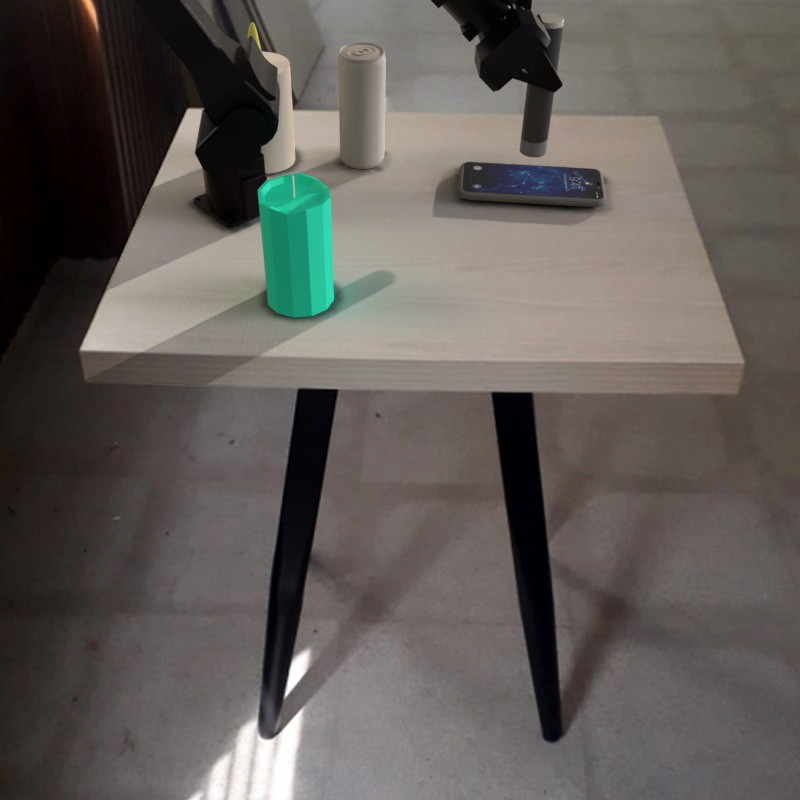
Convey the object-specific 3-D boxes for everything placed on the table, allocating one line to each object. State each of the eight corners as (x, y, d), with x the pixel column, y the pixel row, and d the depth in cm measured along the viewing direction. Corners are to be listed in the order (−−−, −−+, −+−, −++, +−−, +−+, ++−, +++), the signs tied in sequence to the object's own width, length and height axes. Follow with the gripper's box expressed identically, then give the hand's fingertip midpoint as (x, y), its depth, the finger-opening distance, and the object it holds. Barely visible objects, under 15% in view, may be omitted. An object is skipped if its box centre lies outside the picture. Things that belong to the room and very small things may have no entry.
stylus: (518, 155, 93) (533, 21, 84) (521, 143, 95) (536, 11, 86) (544, 159, 93) (562, 24, 84) (547, 146, 95) (565, 14, 86)
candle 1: (300, 146, 105) (293, 8, 95) (289, 175, 100) (280, 33, 90) (244, 142, 106) (231, 4, 96) (230, 171, 101) (214, 29, 91)
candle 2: (274, 275, 87) (264, 154, 79) (339, 280, 87) (335, 160, 78) (259, 314, 82) (247, 191, 74) (328, 320, 82) (323, 197, 74)
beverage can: (331, 159, 103) (327, 49, 95) (364, 145, 106) (364, 37, 98) (359, 176, 101) (359, 64, 93) (393, 161, 103) (396, 52, 95)
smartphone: (460, 159, 102) (602, 167, 101) (460, 167, 102) (600, 175, 102) (458, 193, 96) (608, 202, 95) (457, 202, 97) (606, 210, 96)
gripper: (538, -82, 71) (653, 63, 79) (502, -145, 85) (603, -16, 93) (427, 24, 76) (547, 151, 84) (410, -51, 89) (515, 63, 98)
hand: (555, 81), depth 89 cm, fingers closed on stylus, 2 cm apart
